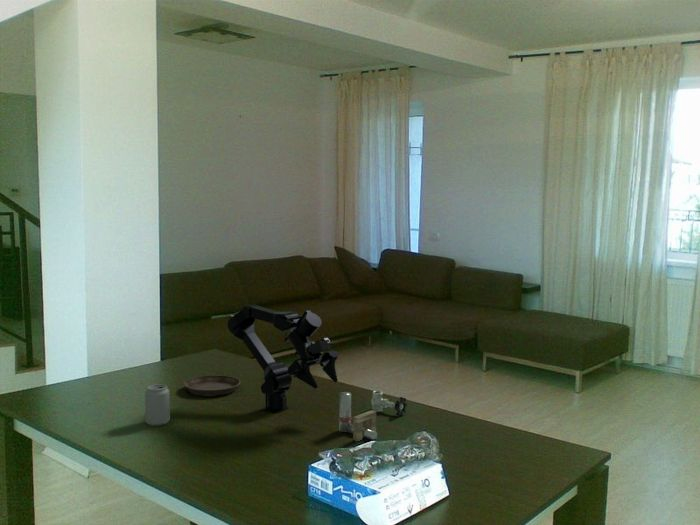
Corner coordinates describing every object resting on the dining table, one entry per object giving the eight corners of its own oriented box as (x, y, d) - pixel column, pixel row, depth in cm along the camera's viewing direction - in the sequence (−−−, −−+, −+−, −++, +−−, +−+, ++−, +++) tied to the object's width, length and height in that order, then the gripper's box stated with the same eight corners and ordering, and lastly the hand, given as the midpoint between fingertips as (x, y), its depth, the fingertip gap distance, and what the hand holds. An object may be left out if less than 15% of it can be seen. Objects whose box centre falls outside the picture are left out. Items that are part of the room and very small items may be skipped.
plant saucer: (213, 379, 267) (213, 371, 266) (251, 389, 255) (251, 380, 254) (172, 391, 250) (172, 383, 250) (210, 402, 238) (210, 393, 238)
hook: (335, 431, 209) (335, 393, 208) (344, 427, 213) (344, 390, 211) (370, 442, 200) (370, 403, 199) (379, 438, 203) (380, 400, 202)
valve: (366, 412, 229) (397, 419, 222) (367, 393, 228) (397, 399, 221) (377, 407, 234) (407, 414, 227) (377, 388, 233) (407, 395, 226)
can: (174, 421, 218) (174, 384, 217) (159, 428, 211) (158, 391, 210) (156, 417, 221) (155, 381, 220) (140, 424, 214) (139, 387, 213)
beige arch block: (353, 441, 202) (353, 417, 201) (370, 433, 208) (371, 410, 207) (358, 442, 201) (358, 418, 200) (376, 435, 207) (376, 411, 206)
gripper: (294, 335, 208) (319, 376, 202) (334, 326, 222) (359, 365, 216) (276, 355, 214) (300, 396, 208) (317, 345, 228) (341, 383, 222)
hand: (326, 384), depth 214 cm, fingers open, 9 cm apart
